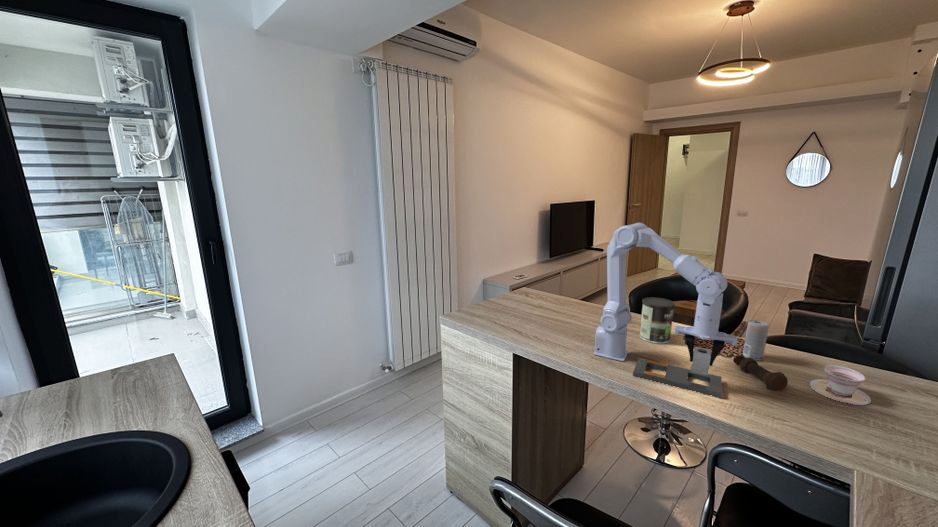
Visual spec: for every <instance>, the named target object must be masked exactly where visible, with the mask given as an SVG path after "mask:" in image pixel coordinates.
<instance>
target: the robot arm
mask: <svg viewBox="0 0 938 527" xmlns="http://www.w3.org/2000/svg"><path fill="white" fill-rule="evenodd" d="M634 247H637V248H638V247H639V248H649V249H651V250H653V251H654V252H655V253H656V254H658V255H660V256H661V257H663V258H664V259H666V260H667V261H668V262H670V263H671V264H673V265H672V266H673V269H674V271H675V272H676V273H677V274H679V275H680V276H681V277H683V278H684V279H685V280H686V281H688V282H689V283H690V284H692V285H693V286H695V289H696V292H697V293H698V297H697V300H696V308H695V315H694V321H693V322H694V323H693V326H680V325H675V327H674V335H677V336H678V335H681V336H684V341H685V344H686V347H687V350H688V354H689V362H691V363H692V362H693V354H694V347H695V341H696V338H699V339H701V340H706V341H709V340H710V341H712V344H711V345H712V347H711V359H710V365H709V367H713V364H714V363H715V360H716V358H717V356H718V355H719V354H720V353H721V352H722V351H723V350H724V348H725V346H726V345H725V344H730V345H732V346H736V347H737V345H738V343H737V342H738V336H737V335H731V334H729V333H728V334H727V333H724V332H721V331H719V327H720V323H721V322H720V321H721V315H722V308H723V299H724V298H723V297H724V291H725V290H726V289H727V287H728V280H727V278H726V276H725V275H724V274H722V273H721V272H717V271H715V270H714V269H713V268H709V267H707V266H706V265H705V264H703V263H702V262H701V261H699V257H697V256H696V255H694V256H692V255H691V254H682V253H681V252H679V250H677V249H676V248H675V247H673V246H672V245H671V244H669V242H667V241H666V240H665V239H663V238H662V237H661V236H660V235H659V234H657V233H656V231H654V229H652V228H650V227H648V226H647V225H646V224H644V223H642V222H635V223H632V224H628V225H622V226H620V227H619V228H617V229H616V230H615V231H614V232H613V236H612V238H611V240H610V241H609V244H608V245H607V248H606V249H607V250H606V264H607V265H606V269H607V270H606V271H607V273H606V274H607V280H606V281H607V290H606V291H607V302H606V303H605V305H604V307H603V309H602V311H603V312H602V315H601V317H600V324H601V325H598V327H597V328H596V332H595V337H594V339H595V340H594V353H593V355H595V356H598V357H602V358H606V359H610V360H614V361H620V362H625V360H626V358H627V356H628V353H629V351H628V350H627V349H626V346H627V339H628V338H627V337H628V336H627V335H628V325H629V324H630V323H631V321H632V319H633V318H632V313H631V312H630V307H629V303H628V302H626V254H627V252H628V251H630V250H632V248H634Z"/></svg>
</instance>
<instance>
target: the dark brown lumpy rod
mask: <svg viewBox="0 0 938 527" xmlns="http://www.w3.org/2000/svg"><path fill="white" fill-rule="evenodd" d="M733 363H734V364H736V366H738V367H739V368H740V370H741V372H744V373H745V374H751V375H754V376H755V377H756V378H758V379H760V380H762V381H763V382H764V383H765V386H766V388H767V389H768V390H769V391H771V392H782V391H783V390H785V389H786V388H787V386H788V383H789V379H788V378H787V376H786V375H785V373H784V372H781V371H776V372H772V371H769V370H768V369H766V368H765V367H763V366H761V365H759V363H758V362H757V361H756V360H755V359H753V358H746V357H744V356H743V355H739V354H738V355H737V354H736V355H735V356H734V357H733Z"/></svg>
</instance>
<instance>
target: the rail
mask: <svg viewBox="0 0 938 527" xmlns="http://www.w3.org/2000/svg"><path fill="white" fill-rule="evenodd" d="M647 367H648V368H647ZM651 368H652V369H651ZM647 369H651V370H657V371H661V372H664V371H665V375H664V374H659V373H656V372H653V371H647ZM634 376H636V377H635V378H638V377H640V378H639V379H642V378H644V379H643V380H646V379H648V380H647V381H650V380H652V381H651V382H654V381H656V382H655V383H658V382H660V383H659V384H662V383H664V384H663V385H666V384H668V385H667V386H670V385H671V386H670V387H673V386H675V387H674V388H677V387H679V389H681V388H682V389H681V390H685V389H687V390H686V391H689V390H692V391H691V392H693V391H696V392H695V393H697V392H700V393H699V394H701V393H703V394H702V395H705V394H707V395H706V396H709V395H712V396H711V397H713V396H714V398H717V397H718V398H717V399H722V396H723V382H722V381H723V380H722V379H723V378H722V376H720V375H716V374H712V373H708V375H704V374H699V373H695V372H691V369H689V368H685V367H681V366H676V365H671V364H667V363H663V362H658V361H655V360H650V359H645V358H642V357H641V358H640V357H638V359H637V362H636V364H635V366H634V369H633V372H632V377H634ZM688 378H689V379H695V380H698V381H703V382H707V383H709V385H704V384H700V383H697V382H692V381H688Z"/></svg>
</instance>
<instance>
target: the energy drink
mask: <svg viewBox="0 0 938 527" xmlns="http://www.w3.org/2000/svg"><path fill="white" fill-rule="evenodd" d="M769 329H770V326H769V323H767V321H763V320H759V319H750V320H749V321H748V322H747V326H746V332H745V338H744V343H743V344H744V345H743V349H742V350H743V351H742V356H744V357H745V358H753V359H755V360H756V361H758V362H759V361H762V360H763V359H764V355H765V351H766V344H767V339H768V334H769Z"/></svg>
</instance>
